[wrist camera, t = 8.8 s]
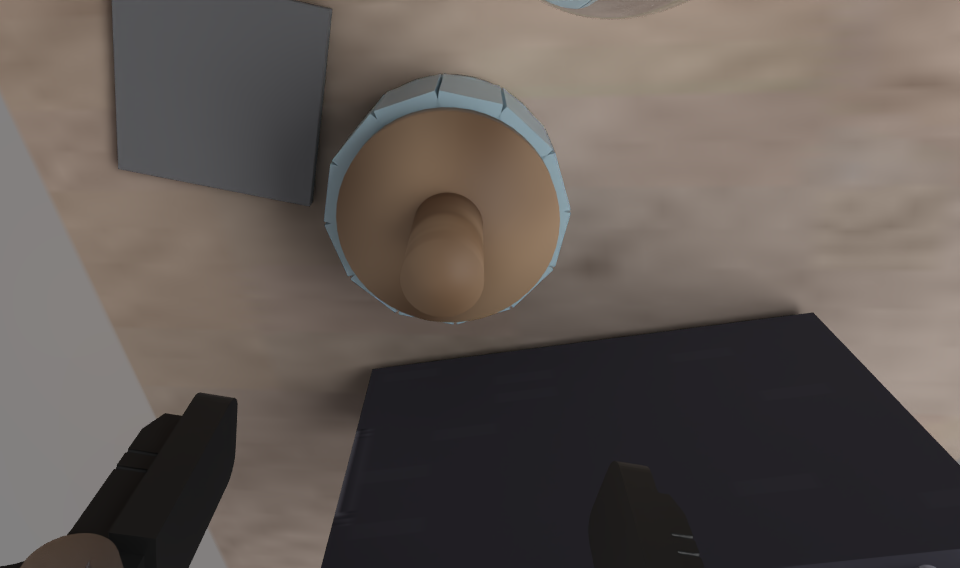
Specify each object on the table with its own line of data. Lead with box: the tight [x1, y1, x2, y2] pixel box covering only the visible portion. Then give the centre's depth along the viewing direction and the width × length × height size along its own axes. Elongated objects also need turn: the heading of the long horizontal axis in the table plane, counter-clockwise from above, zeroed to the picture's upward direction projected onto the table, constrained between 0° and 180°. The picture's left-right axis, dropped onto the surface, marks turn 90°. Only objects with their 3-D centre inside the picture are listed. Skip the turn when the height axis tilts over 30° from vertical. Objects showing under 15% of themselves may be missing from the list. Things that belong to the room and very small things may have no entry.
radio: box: [321, 313, 960, 568], centre depth 27 cm, size 24×5×20 cm, turn 99°
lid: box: [336, 107, 560, 322], centre depth 24 cm, size 9×9×6 cm
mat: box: [112, 0, 332, 206], centre depth 29 cm, size 9×9×1 cm
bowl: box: [324, 73, 571, 324], centre depth 29 cm, size 10×10×5 cm
